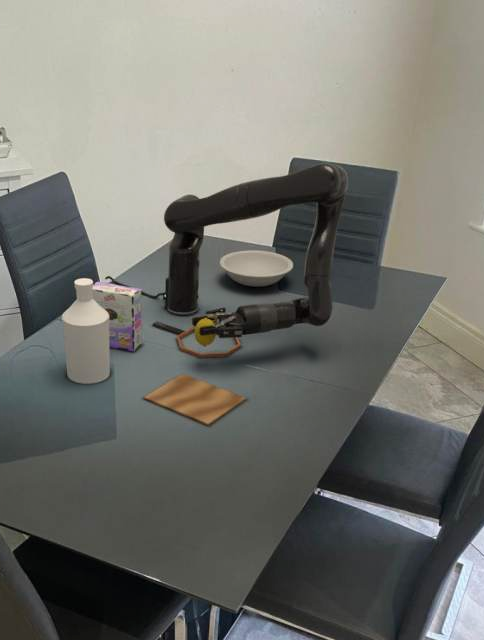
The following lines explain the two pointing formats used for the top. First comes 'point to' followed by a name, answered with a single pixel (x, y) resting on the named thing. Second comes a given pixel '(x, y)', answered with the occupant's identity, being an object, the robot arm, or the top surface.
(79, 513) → the top surface
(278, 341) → the top surface
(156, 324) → the magnifying glass
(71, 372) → the bottle
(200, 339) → the lemon
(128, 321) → the candy box
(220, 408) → the wooden cutting board
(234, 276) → the soup bowl
